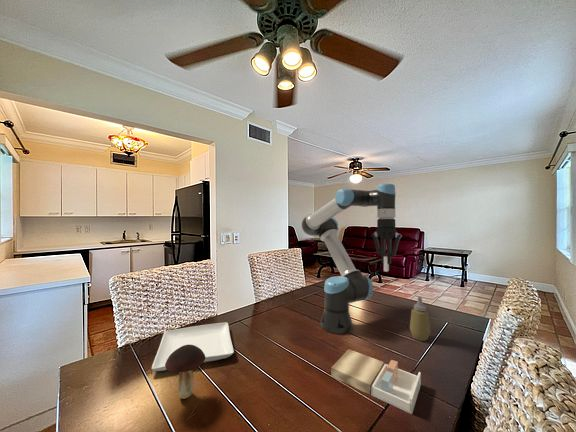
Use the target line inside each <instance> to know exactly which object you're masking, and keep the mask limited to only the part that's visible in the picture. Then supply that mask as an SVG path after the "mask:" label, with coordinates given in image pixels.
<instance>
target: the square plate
mask: <svg viewBox="0 0 576 432" xmlns="http://www.w3.org/2000/svg"><path fill="white" fill-rule="evenodd" d="M161 337H162V338H161V340H160V343H159V347H158V349H157V352H156V355H155V357H154V359H153V362H152V365H151V370H152V371H155V372H162V371H168V370H167V369H166V367H165V363H166V361H167V359H168V357H169V356H170V355H171V354H172V353H173V352H174V351H175V350H177V349H178V348H180V347H182V346H184V345H194V346H197V347H198V348H200V349H201V350H202V351H203V353H204V354H205V360H204V362H203V363H207V362H213V361H219V360H222V359H224V360H225V359H228V358H229V357H231V356H232V355H233V354H234V353H235V349H234V347H233V342H232V338H231V332H230V327H229V323H228V321H226V322H219V323H218V322H216V323H208V324H201V325H200V324H199V325H194V326H188V327H187V326H186V327H183V328H182V327H181V328H176V329H168V330H166V331H164V332H163V334H162V336H161Z"/></svg>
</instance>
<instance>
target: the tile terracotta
mask: <svg viewBox="0 0 576 432" xmlns="http://www.w3.org/2000/svg"><path fill="white" fill-rule="evenodd" d="M387 365H388V366H387V371H389V372H391V373H393V385H394V384H395V382H396V380H397V378H398V369H399V362H398V361H397V360H393V359H391V360H390V361H389V363H388V364H387Z"/></svg>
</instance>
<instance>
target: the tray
mask: <svg viewBox="0 0 576 432" xmlns="http://www.w3.org/2000/svg"><path fill="white" fill-rule="evenodd" d="M388 365H389V364H388V363H384V366H383V367H382V369H381V371H380V373H379V374H378V376H377V378H376V379H375V381H374V383H373V384H372V386H371V394H370V395H371V396H372V397H374V398H377V399H379V400H380V401H382V402H385V403H387V404H389V405H391V406H393V407H395V408H398V409H400V410H401V411H404V412H405V413H407V414H410V415H413V412H414V410H415V406H416V402H417V400H418V397H419V396H418V395H419V393H420V389H421V386H422V373H421V372H420V371H418V374H417V375H416V374H413V373H410V372H409V371H406V370H403V369H400V368H398V378H397V380H396V382H395V384H394V385H393V391H392V394H390V393H388V392H386V391H383V390H382V378H383V376H384V374H385V372H386V371H387V366H388Z"/></svg>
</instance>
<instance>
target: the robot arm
mask: <svg viewBox="0 0 576 432" xmlns="http://www.w3.org/2000/svg"><path fill="white" fill-rule="evenodd" d="M396 193H397V192H396V186H395V184H394V183H381V184H380V183H379V184H378V185H377V186H376V189H373V190H372V189H371V190H361V189H351V188H341V189H338V190H337V192H336V194H335V195H334V198H332V200H330V201H329V202H327V203H326V204H325V205H323V206H322V207H320V208H319V209H317V210H316V211H315V212H313V213H309V214H307V215H306V216H305V217H304V218H303V219H302V221H301V229H302V231H303V232H304V233H305V234H306V235H308V236H314V237H315V236H317V237H318V238H319V239H320V241H322V242H324V243H325V245H326V248H327V250H328V252H329V254H330V255H331V258H332V260H333V262H334V264H335V266H336V268H337V270H338V272H339V273H340V275H338V276H331V277H328V278H327V279H325V281H324V287H323V290H324V311H323V313H322V317H321V320H320V326H321V329H323V330H324V331H325V332H327V333H331V334H338V335H340V334H341V335H342V334H343V335H344V334H348V333H350V332H352V330H353V320H352V316H351V314H350V310H349V308H350V306H349V305H350V304H352V303H356V302H361V301H366V300H368V299H370V298H371V296H372V295H373V292H374V291H373V290H374V286H373V282H372V279H370V277H369V276H367V275H363V274H362V272H361V270H359V269H356V267H355V264H354V263H353V261H352V260H351V258H350V256H349V254H348V252H347V250H346V249H345V246H344V245H343V243H342V242H341V240H340V237H339V236H338V234H339V223H338V221H337V220H336V218H334V217H336V216H337V215H338V214H340V213H342V212H344V211H345V210H347V209H349V208H350V207H354V206H355V207H364V208H367V207H376V208H377V209H376V211H377V214H376V215H377V217H376V218H378V219H377V220H376V221H377V222H376V223H377V226H376V227H377V228H376V230H375V231H374V232H373V233H371V237H372V239H373V242H374V246H375V250H376V254H377V255H379V256H380V257H381V259H380V260H381V264H383V272H386V273H388V272H389V271H390V264H392V257H394V256H396V255H397V251H398V246H399V244H400V240H401V238H403V235H402V234H401V233H398V232H397V230H396V219H395V218H396ZM394 237H395V240H394V242H393V247H392V239H393V238H394ZM379 238H380V242H379Z"/></svg>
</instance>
